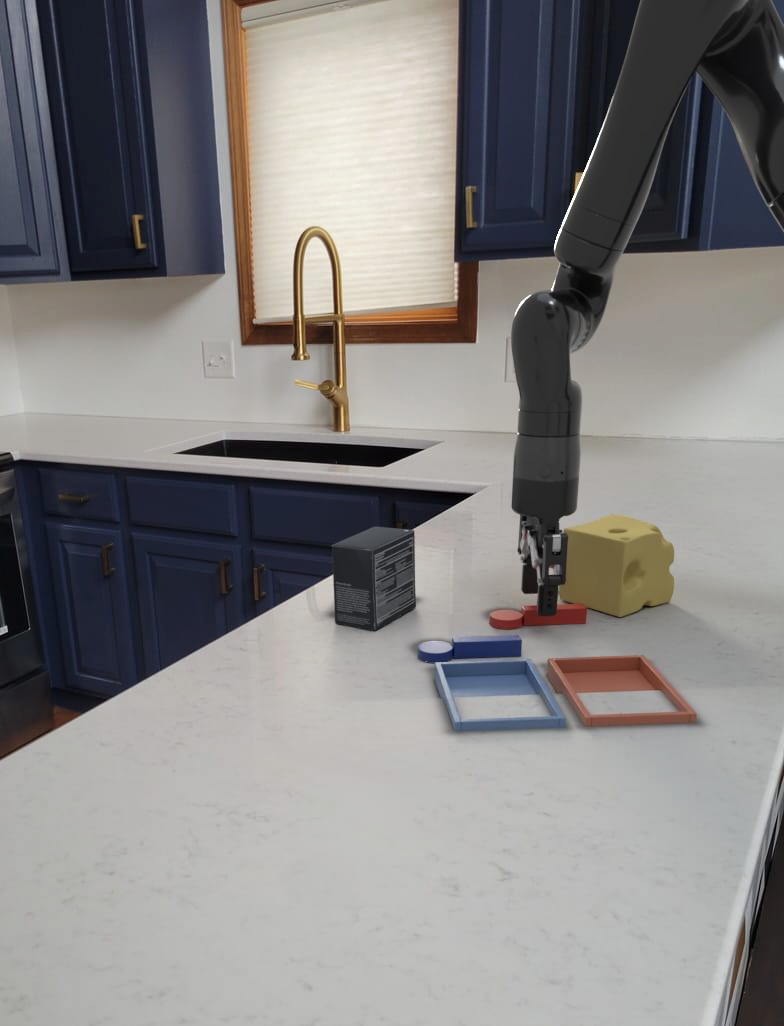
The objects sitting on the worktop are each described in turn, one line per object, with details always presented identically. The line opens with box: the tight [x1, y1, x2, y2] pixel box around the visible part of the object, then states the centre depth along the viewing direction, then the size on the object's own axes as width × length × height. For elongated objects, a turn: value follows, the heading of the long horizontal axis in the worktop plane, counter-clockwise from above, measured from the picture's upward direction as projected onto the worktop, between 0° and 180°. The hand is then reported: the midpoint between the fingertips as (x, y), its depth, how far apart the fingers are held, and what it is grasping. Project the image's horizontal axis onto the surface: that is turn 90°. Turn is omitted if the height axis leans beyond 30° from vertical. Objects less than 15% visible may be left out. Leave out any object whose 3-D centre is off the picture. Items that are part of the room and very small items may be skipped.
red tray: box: [546, 654, 697, 727], centre depth 95 cm, size 10×15×2 cm
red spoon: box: [489, 603, 588, 630], centre depth 118 cm, size 12×4×2 cm, turn 90°
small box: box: [331, 525, 417, 632], centre depth 121 cm, size 11×6×10 cm, turn 145°
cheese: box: [558, 513, 675, 618], centre depth 123 cm, size 10×11×10 cm
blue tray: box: [434, 658, 567, 732], centre depth 95 cm, size 10×15×2 cm
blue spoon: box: [417, 634, 523, 664], centre depth 108 cm, size 12×4×2 cm, turn 90°
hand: (537, 603), depth 117 cm, fingers open, 8 cm apart
